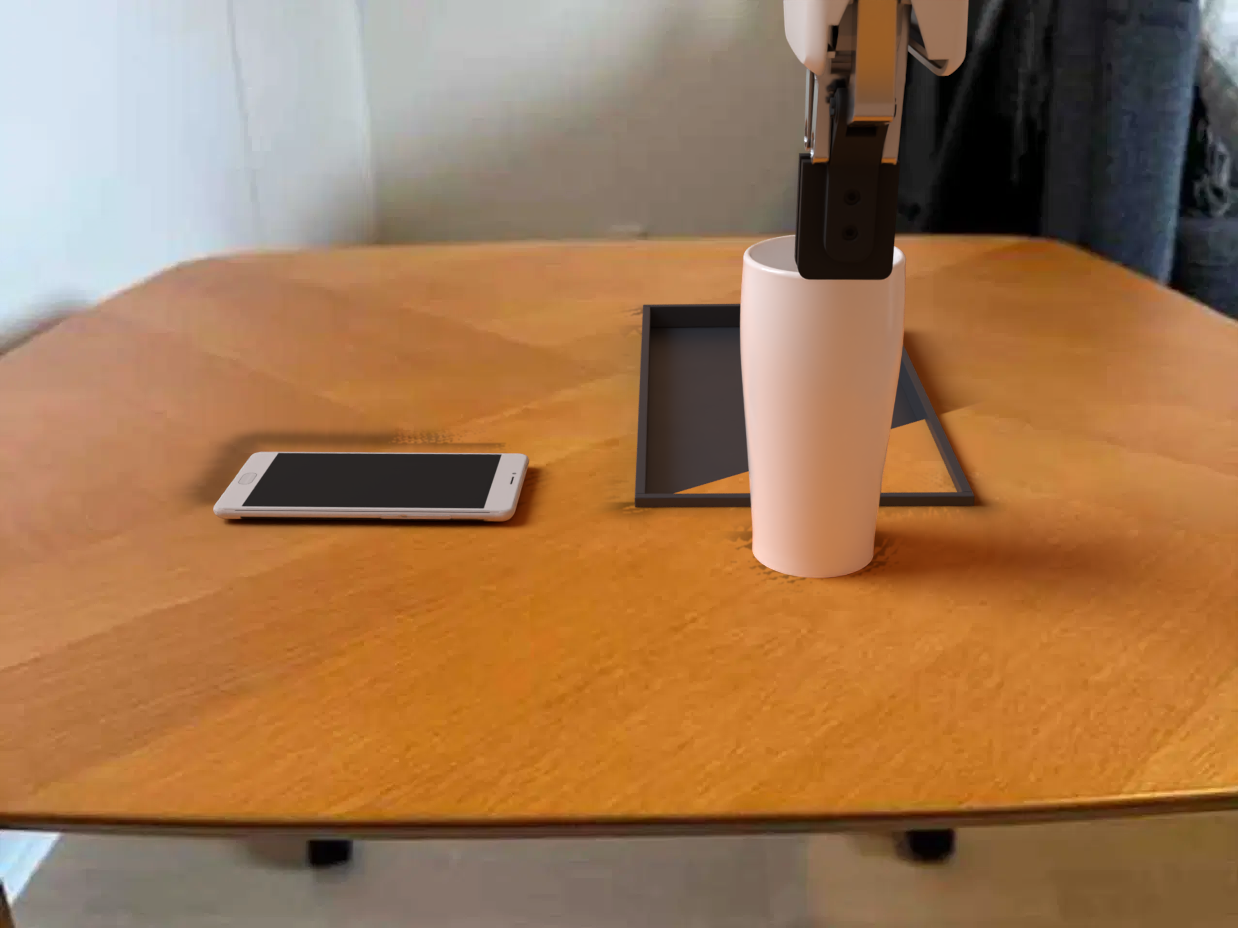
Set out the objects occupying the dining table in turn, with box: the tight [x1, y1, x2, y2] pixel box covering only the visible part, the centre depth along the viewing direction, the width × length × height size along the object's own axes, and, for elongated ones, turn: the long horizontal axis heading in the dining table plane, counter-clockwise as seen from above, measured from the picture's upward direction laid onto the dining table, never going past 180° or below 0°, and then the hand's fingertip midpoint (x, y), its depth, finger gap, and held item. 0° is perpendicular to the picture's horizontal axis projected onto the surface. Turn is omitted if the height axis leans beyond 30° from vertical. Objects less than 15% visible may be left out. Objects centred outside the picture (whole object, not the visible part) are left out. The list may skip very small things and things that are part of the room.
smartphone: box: [212, 451, 530, 522], centre depth 75 cm, size 8×1×15 cm
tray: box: [634, 303, 975, 509], centre depth 84 cm, size 31×16×2 cm, turn 178°
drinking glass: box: [740, 234, 907, 579], centre depth 63 cm, size 7×7×15 cm
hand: (842, 272), depth 51 cm, fingers closed
